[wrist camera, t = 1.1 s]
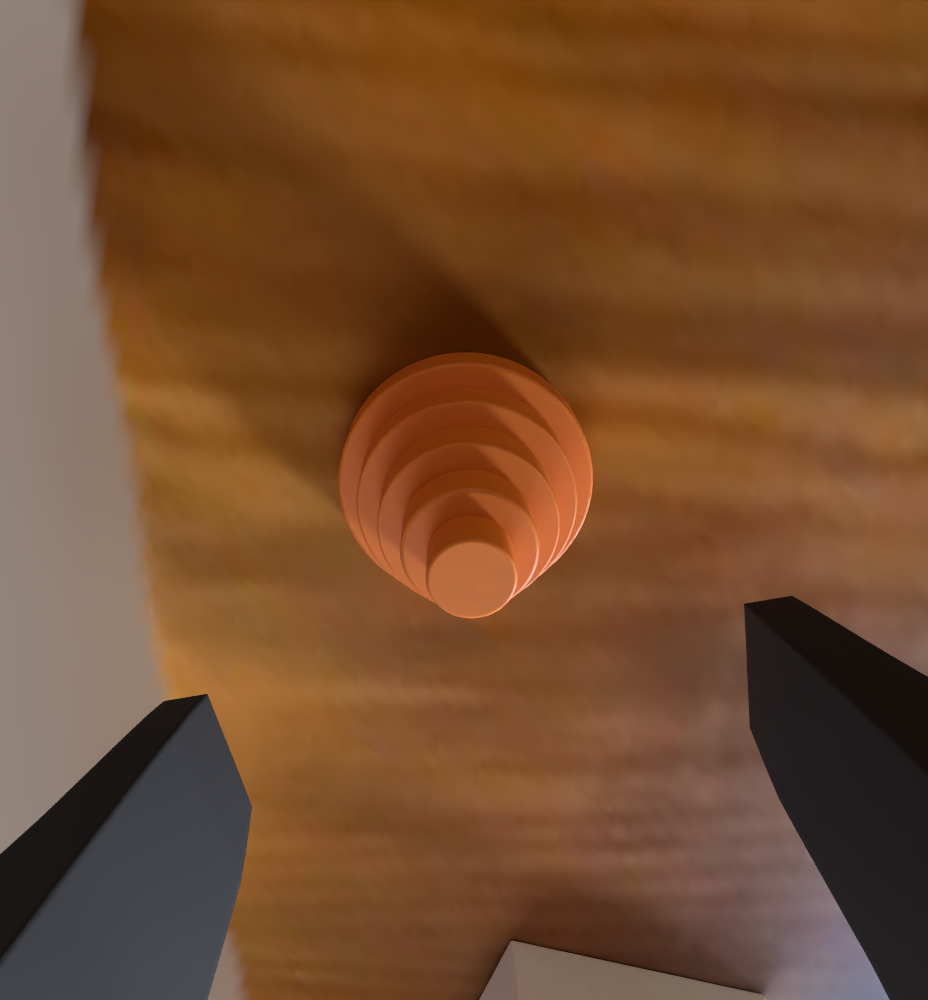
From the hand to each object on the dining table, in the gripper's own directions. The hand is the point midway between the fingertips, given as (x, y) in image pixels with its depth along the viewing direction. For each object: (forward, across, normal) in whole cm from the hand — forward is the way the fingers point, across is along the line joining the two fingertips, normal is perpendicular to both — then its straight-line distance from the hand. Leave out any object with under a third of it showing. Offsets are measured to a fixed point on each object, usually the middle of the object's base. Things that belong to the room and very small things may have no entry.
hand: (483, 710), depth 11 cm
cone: (+8, 0, 0) cm, 8 cm away
